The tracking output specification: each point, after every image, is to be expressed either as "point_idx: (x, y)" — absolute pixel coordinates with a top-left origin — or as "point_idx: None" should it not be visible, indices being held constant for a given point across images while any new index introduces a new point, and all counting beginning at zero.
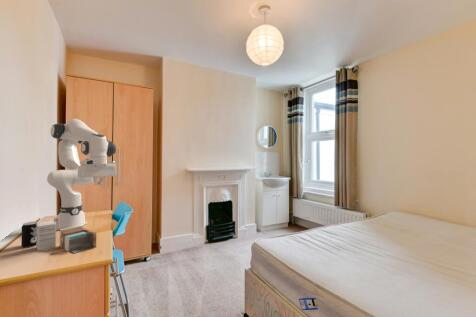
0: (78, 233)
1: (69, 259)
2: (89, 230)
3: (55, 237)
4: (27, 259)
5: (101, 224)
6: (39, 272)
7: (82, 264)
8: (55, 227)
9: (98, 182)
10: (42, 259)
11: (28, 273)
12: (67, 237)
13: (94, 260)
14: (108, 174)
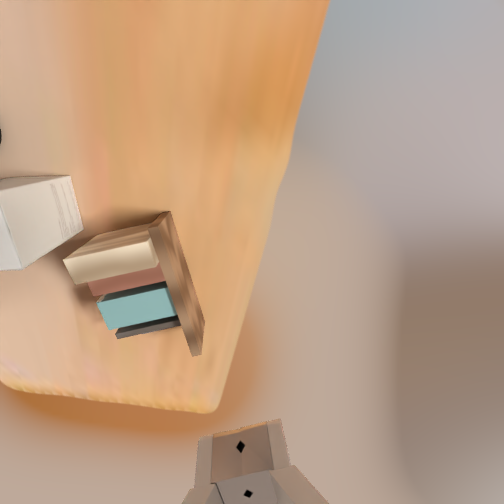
0: (144, 301)
1: (131, 364)
2: (184, 305)
3: (62, 242)
4: (16, 294)
5: None
6: (71, 396)
7: (159, 408)
8: (34, 261)
9: (245, 501)
10: (61, 321)
11: (47, 388)
12: (106, 323)
13: (186, 402)
14: None
